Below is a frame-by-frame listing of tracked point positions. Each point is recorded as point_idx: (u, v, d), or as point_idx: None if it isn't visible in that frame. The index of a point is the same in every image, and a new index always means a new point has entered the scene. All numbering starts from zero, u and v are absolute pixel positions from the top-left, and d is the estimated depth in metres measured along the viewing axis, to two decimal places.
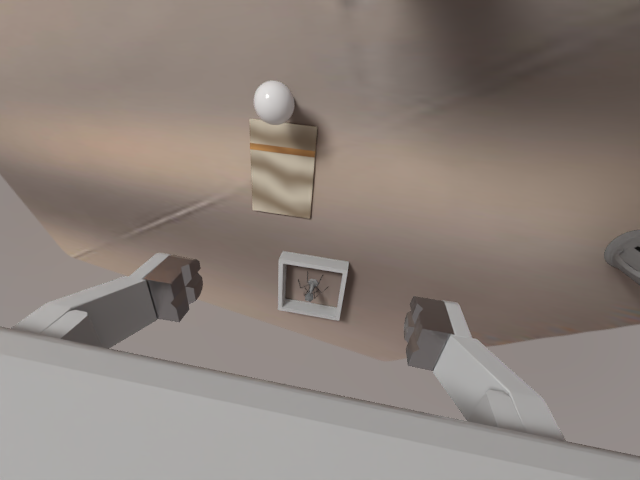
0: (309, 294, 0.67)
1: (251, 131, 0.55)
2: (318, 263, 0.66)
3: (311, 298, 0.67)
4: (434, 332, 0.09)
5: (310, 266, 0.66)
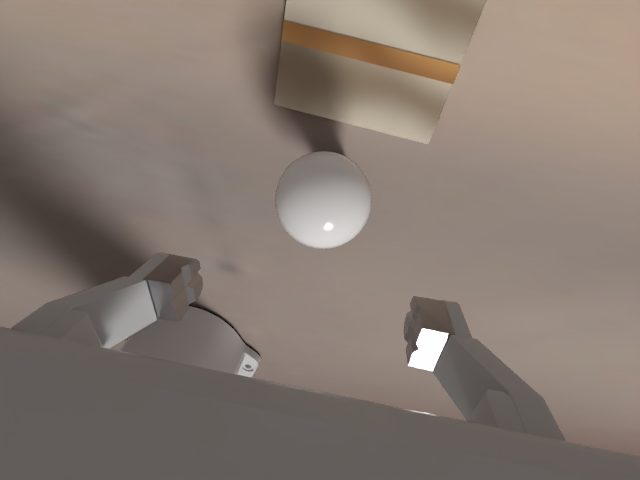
0: None
1: (435, 113, 0.22)
2: None
3: None
4: (434, 332, 0.09)
5: None
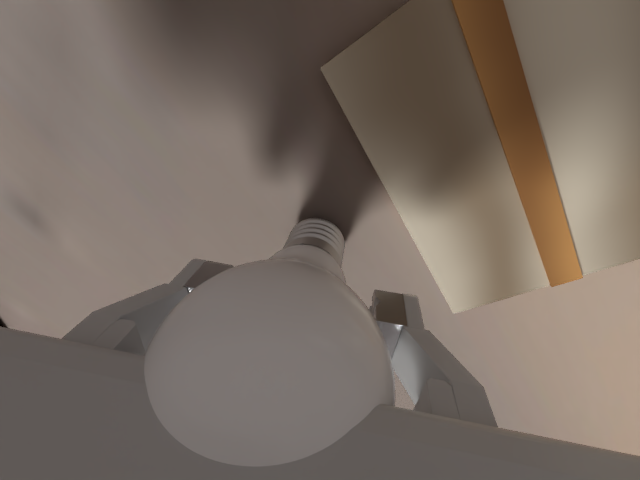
0: None
1: (498, 294, 0.14)
2: None
3: None
4: (388, 324, 0.09)
5: None
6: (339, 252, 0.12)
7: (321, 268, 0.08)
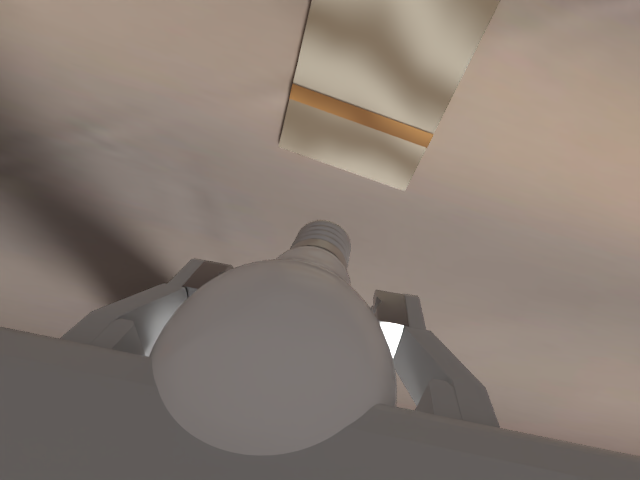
0: None
1: (411, 168, 0.27)
2: None
3: None
4: (389, 324, 0.09)
5: None
6: (345, 254, 0.12)
7: (326, 269, 0.08)
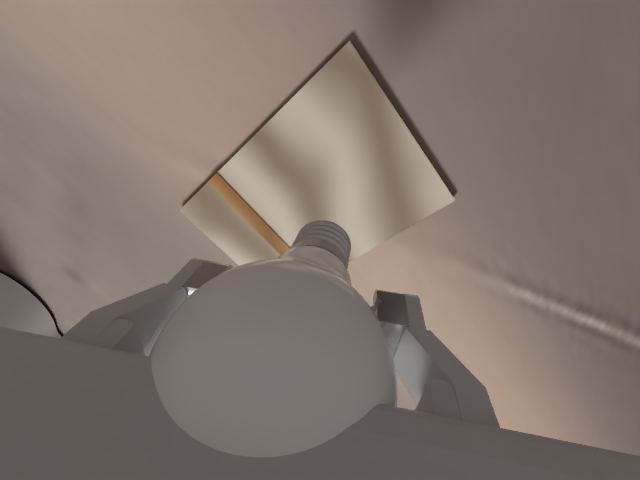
0: None
1: None
2: None
3: None
4: (389, 324, 0.09)
5: None
6: (345, 254, 0.12)
7: (326, 268, 0.08)
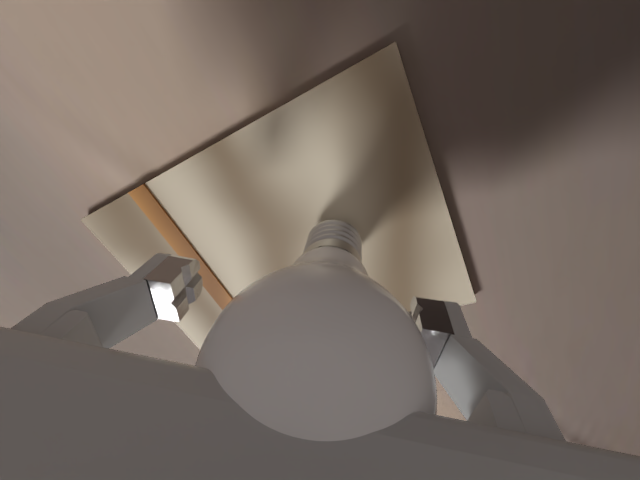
0: None
1: None
2: None
3: None
4: (434, 332, 0.09)
5: None
6: (359, 253, 0.13)
7: (357, 270, 0.09)
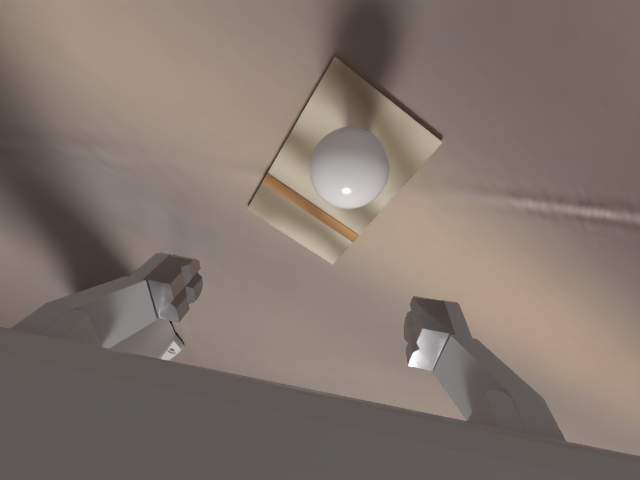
0: None
1: (340, 251, 0.36)
2: None
3: None
4: (434, 332, 0.09)
5: None
6: None
7: None
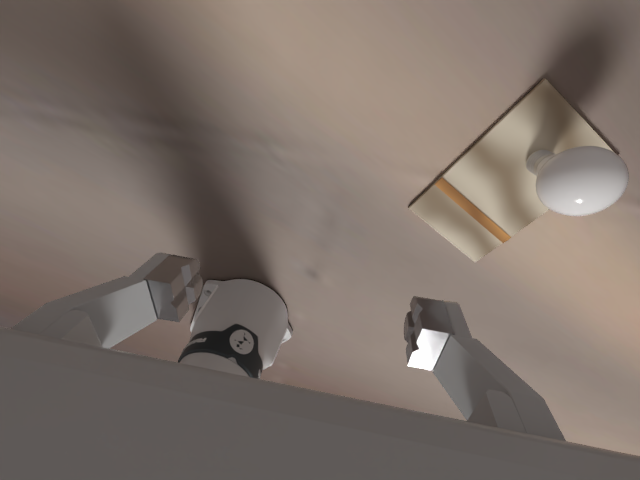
0: None
1: (487, 251, 0.40)
2: None
3: None
4: (434, 332, 0.09)
5: None
6: None
7: None
